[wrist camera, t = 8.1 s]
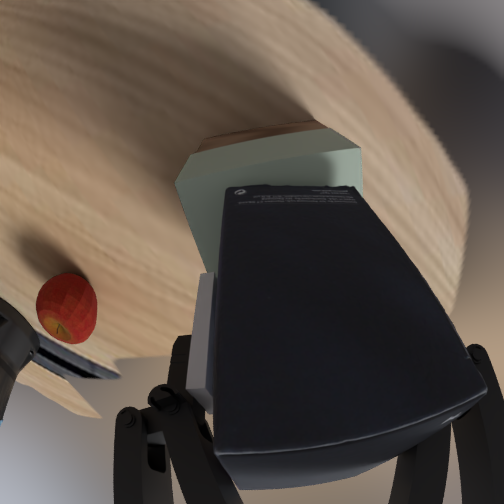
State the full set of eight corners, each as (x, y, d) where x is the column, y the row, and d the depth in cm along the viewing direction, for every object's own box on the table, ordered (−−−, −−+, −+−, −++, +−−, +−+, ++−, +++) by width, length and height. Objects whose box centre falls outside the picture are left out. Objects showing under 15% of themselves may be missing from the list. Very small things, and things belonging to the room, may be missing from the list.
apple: (79, 251, 26) (47, 301, 20) (119, 300, 30) (99, 352, 24) (45, 271, 28) (17, 315, 21) (81, 312, 32) (62, 358, 26)
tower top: (234, 291, 23) (234, 338, 19) (190, 154, 17) (174, 182, 12) (338, 271, 23) (356, 315, 19) (330, 127, 16) (360, 147, 12)
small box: (214, 182, 12) (192, 462, 3) (357, 182, 12) (504, 380, 4) (227, 337, 18) (233, 495, 9) (323, 330, 18) (361, 475, 10)
